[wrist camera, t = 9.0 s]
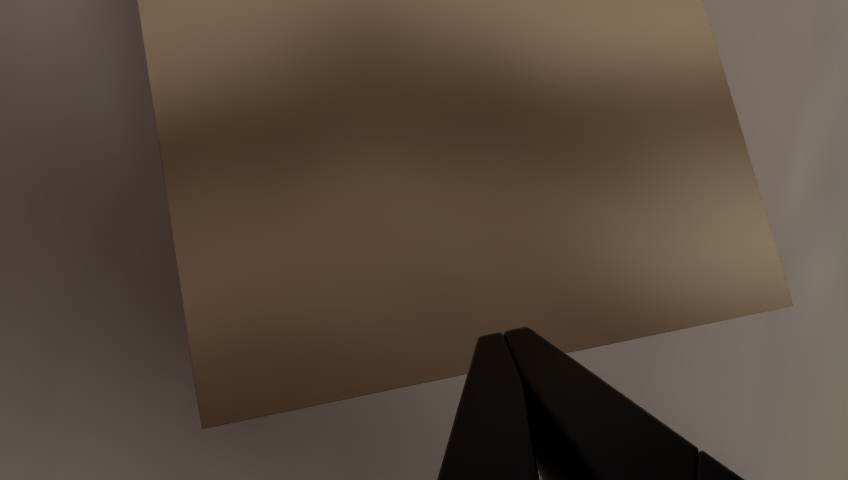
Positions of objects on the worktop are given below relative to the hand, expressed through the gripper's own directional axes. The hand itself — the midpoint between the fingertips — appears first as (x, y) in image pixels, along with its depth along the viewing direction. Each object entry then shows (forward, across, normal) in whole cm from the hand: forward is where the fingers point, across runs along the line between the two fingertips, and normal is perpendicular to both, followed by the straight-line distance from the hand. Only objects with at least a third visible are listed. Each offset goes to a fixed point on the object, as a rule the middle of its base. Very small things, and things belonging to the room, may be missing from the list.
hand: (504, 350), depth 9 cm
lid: (+7, 0, +1) cm, 7 cm away
